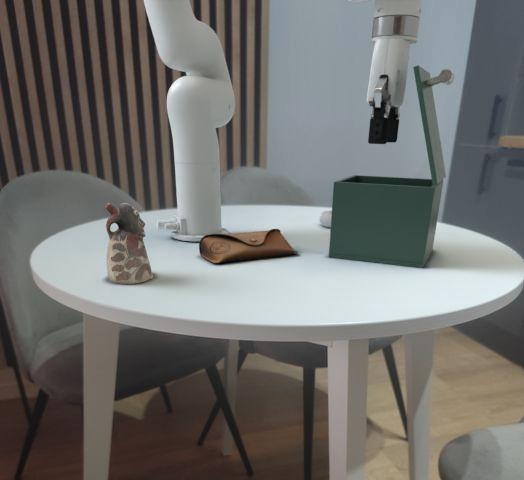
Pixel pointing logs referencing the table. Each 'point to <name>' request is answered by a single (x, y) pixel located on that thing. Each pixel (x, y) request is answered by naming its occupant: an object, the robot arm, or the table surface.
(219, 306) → the table surface
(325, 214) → the donut
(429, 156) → the bin lid
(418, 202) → the trash bin
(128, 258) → the figurine
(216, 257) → the sunglasses case
